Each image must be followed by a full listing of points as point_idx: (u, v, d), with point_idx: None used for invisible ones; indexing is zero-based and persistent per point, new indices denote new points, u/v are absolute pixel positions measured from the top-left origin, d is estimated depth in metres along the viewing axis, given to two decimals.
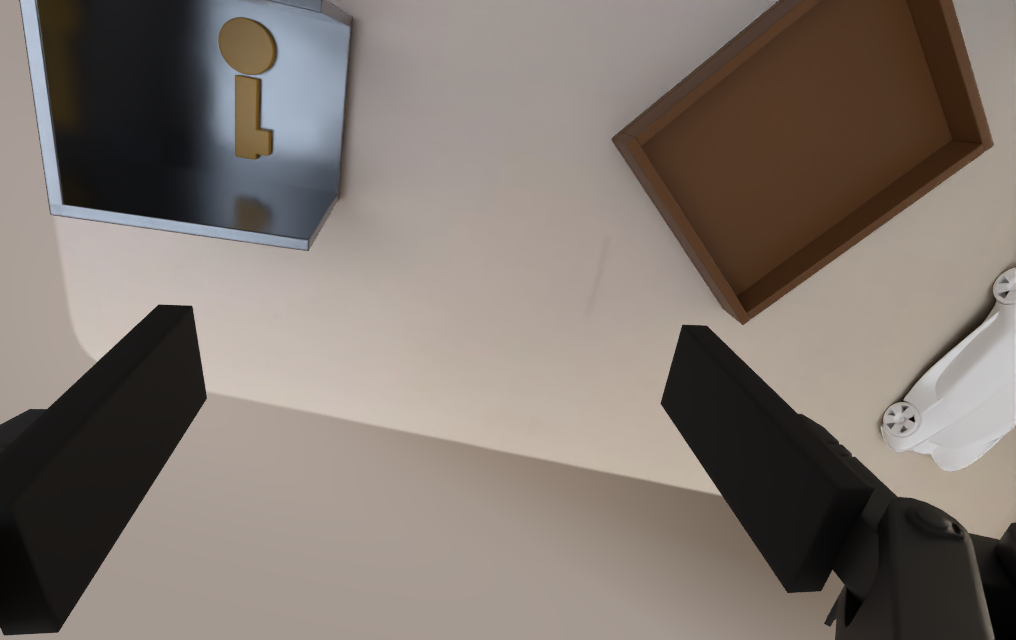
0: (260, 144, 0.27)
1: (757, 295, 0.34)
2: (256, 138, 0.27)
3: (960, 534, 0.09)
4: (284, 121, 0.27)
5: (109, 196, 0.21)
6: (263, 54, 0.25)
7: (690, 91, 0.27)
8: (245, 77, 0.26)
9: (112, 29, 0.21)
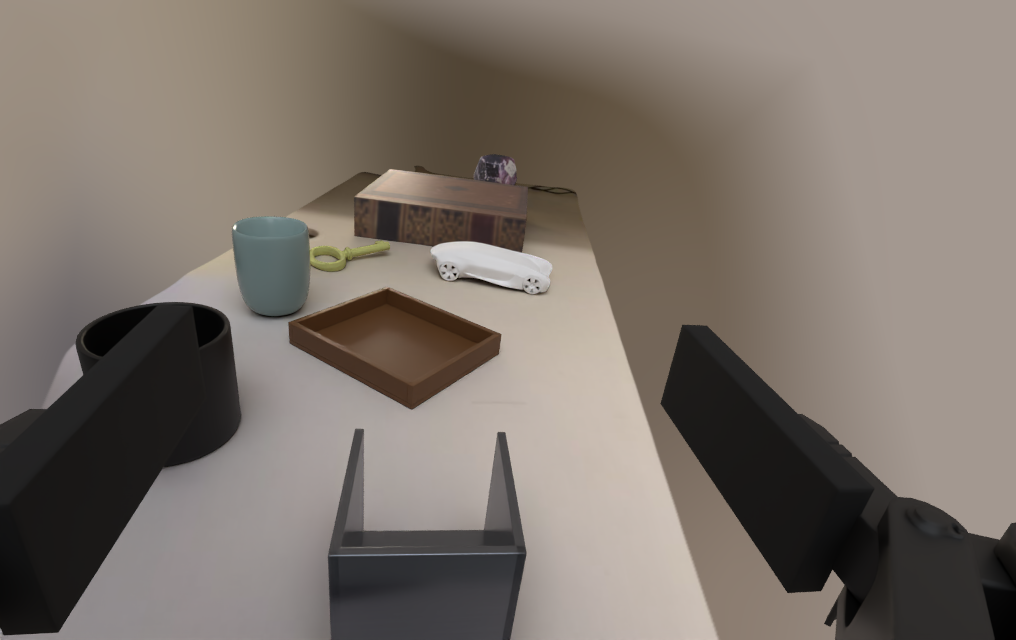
0: None
1: (483, 336, 0.60)
2: None
3: (959, 534, 0.09)
4: None
5: None
6: None
7: (379, 370, 0.50)
8: None
9: None
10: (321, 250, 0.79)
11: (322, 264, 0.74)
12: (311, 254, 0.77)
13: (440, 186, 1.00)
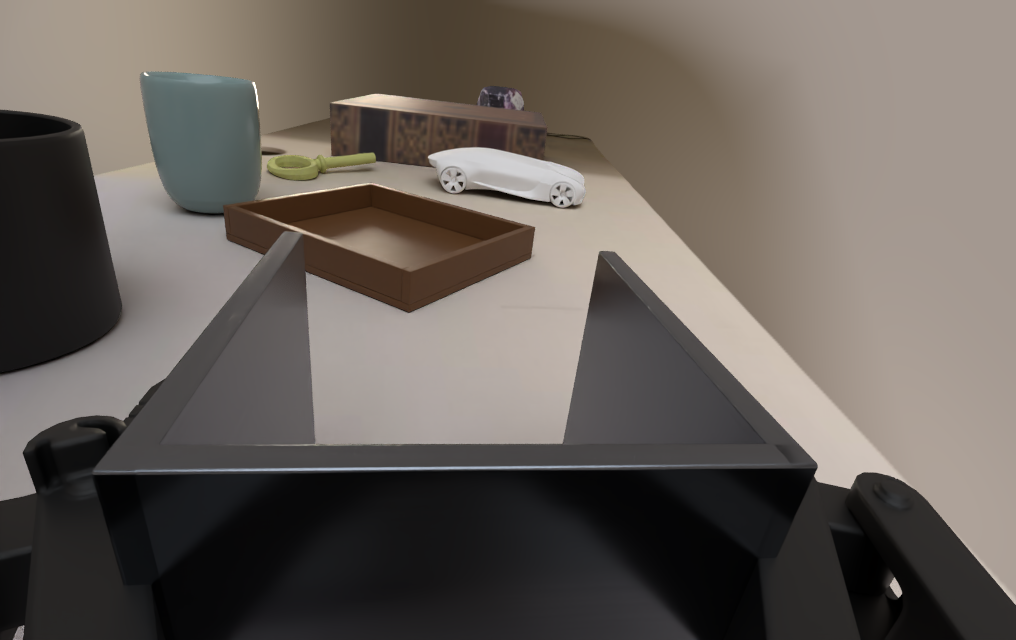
0: None
1: (508, 233, 0.42)
2: None
3: None
4: None
5: None
6: None
7: (357, 254, 0.32)
8: None
9: None
10: (286, 161, 0.61)
11: (286, 169, 0.56)
12: (272, 162, 0.59)
13: (437, 105, 0.82)
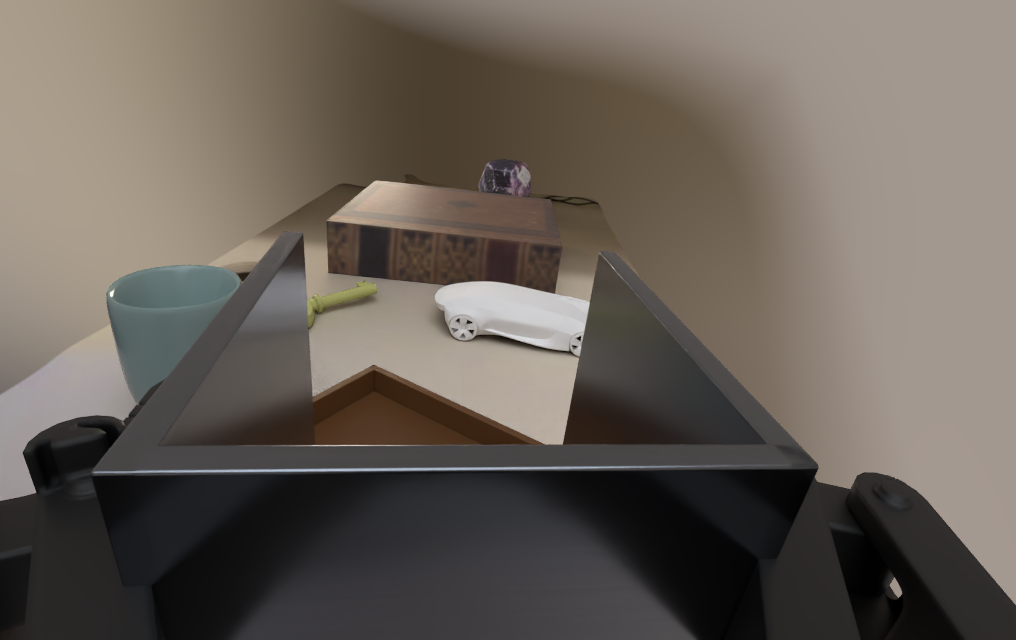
0: None
1: None
2: None
3: None
4: None
5: None
6: None
7: None
8: None
9: None
10: None
11: None
12: None
13: (441, 202, 0.77)
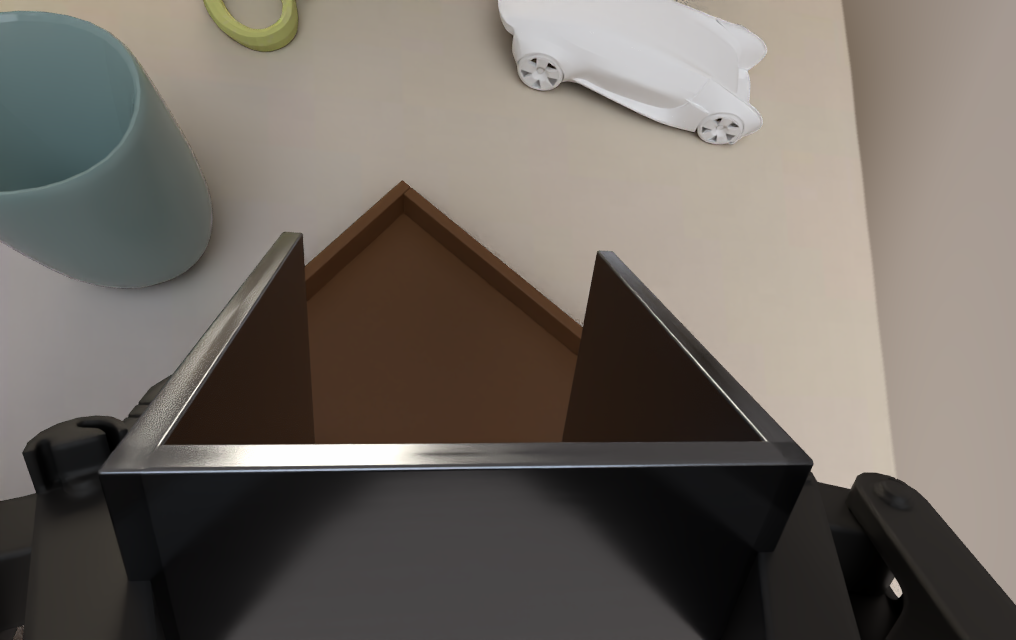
0: None
1: None
2: None
3: (808, 477, 0.10)
4: None
5: None
6: None
7: None
8: None
9: None
10: None
11: (241, 33, 0.31)
12: None
13: None
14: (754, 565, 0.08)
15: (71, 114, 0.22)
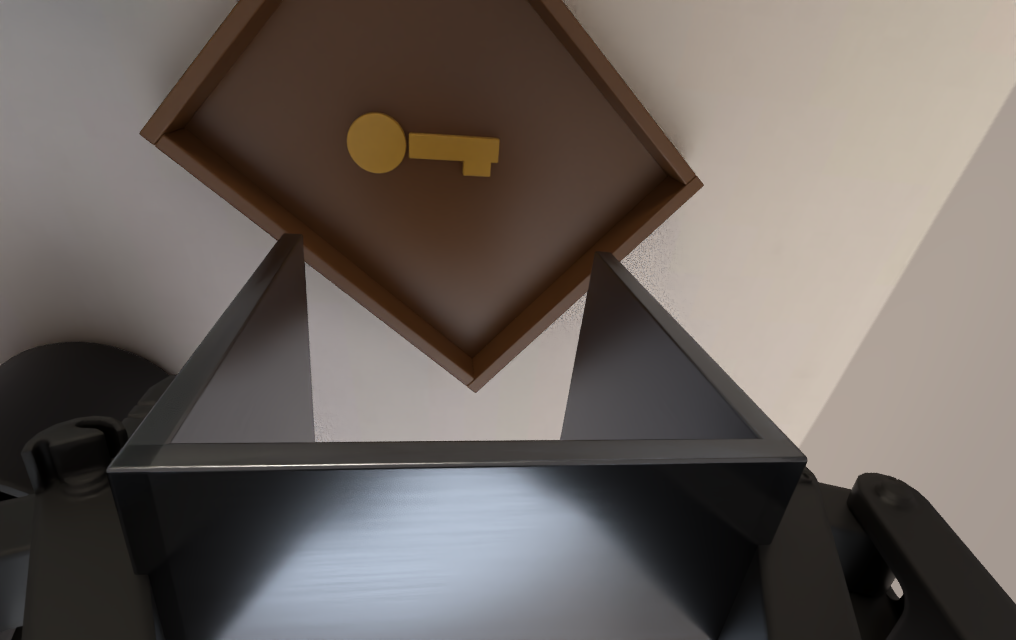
0: None
1: (660, 159, 0.23)
2: None
3: (808, 477, 0.10)
4: None
5: None
6: None
7: (412, 343, 0.25)
8: None
9: None
10: None
11: None
12: None
13: None
14: (755, 565, 0.08)
15: None
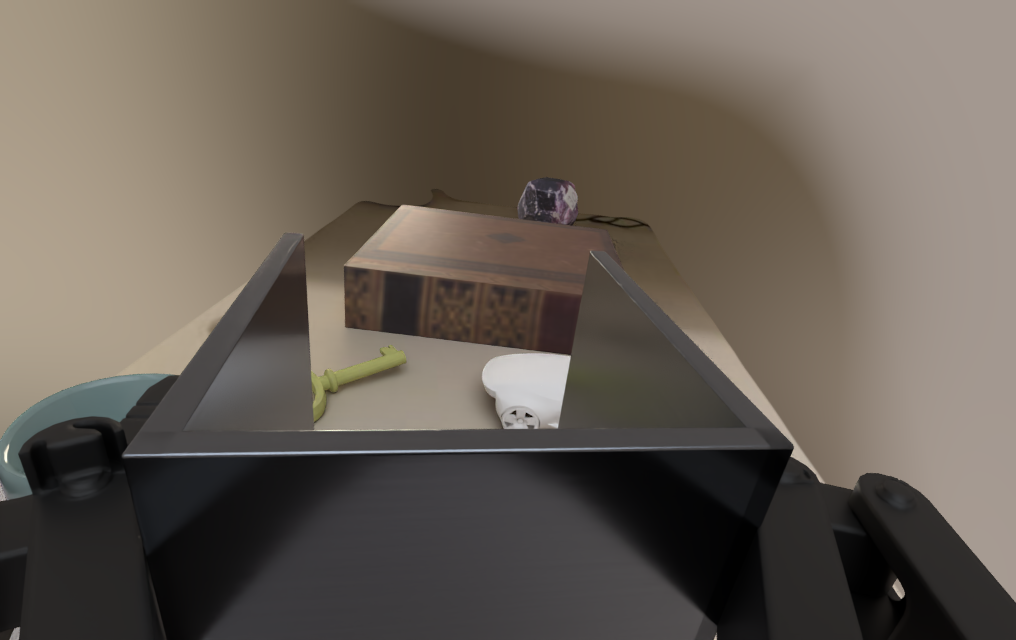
0: None
1: None
2: None
3: (810, 478, 0.10)
4: None
5: None
6: None
7: None
8: None
9: None
10: None
11: None
12: None
13: (481, 235, 0.64)
14: (756, 566, 0.08)
15: None
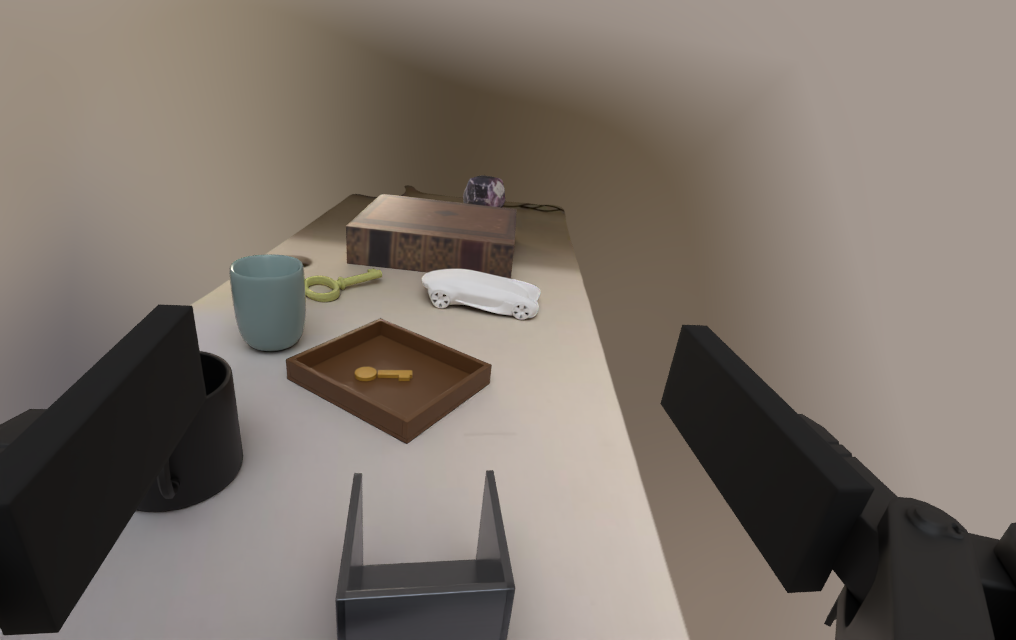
0: None
1: (474, 367, 0.62)
2: None
3: (960, 533, 0.09)
4: None
5: None
6: None
7: (375, 406, 0.52)
8: (378, 375, 0.60)
9: None
10: (315, 280, 0.82)
11: (317, 295, 0.77)
12: (305, 285, 0.79)
13: (430, 211, 1.03)
14: (886, 612, 0.08)
15: None
